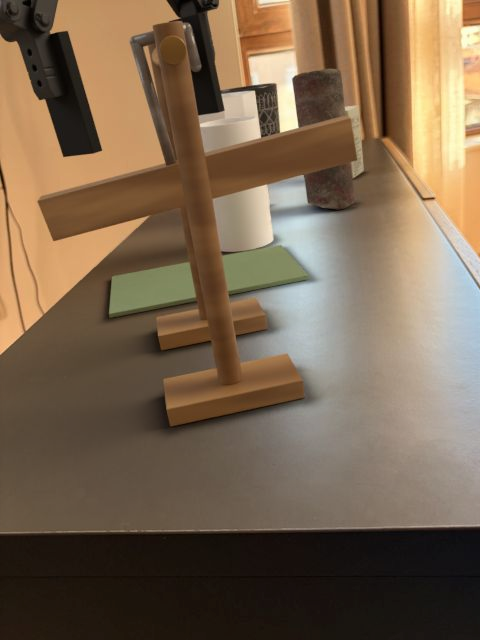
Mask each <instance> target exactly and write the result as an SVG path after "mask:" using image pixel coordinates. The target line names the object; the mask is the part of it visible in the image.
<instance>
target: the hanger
mask: <svg viewBox="0 0 480 640" xmlns="http://www.w3.org/2000/svg"><path fill="white" fill-rule="evenodd" d="M183 28H184V34H185V40H186V46H187V51H188V57H189V63H190V68H191V70H192V71H194V72H198V71H200V69H201V62H200V58H199V54H198V50H197V46H196V42H195V38H194V34H193V30H192V26H191V25H190V24H189V23H187V22H185V23H183ZM152 44H156V43H155V37H154V32H153V30H151V31H147V32H142V33H140V34H135V35H133V36H131V37H130V39H129V45H130V48H131V51H132V55H133V59H134V62H135V66H136V69H137V72H138V76H139V79H140V82H141V85H142V89H143V92H144V96H145V100H146V103H147V106H148V109H149V113H150V117H151V120H152V123H153V126H154V130H155V134H156V136H157V140H158V143H159V146H160V150H161V153H162V156H163V160H164V163H160V164H156V165H152V166H148V167H146V168H141V169H138V170H134V171H130V172H126V173H123V174H118V175H115V176H111V177H107V178H104V179H100V180H96V181H92V182H89V183H85V184H81V185H77V186H74V187H70V188H66V189H63V190H58V191H54V192H51V193H46V194H44V195H40V197H38V199H37V200H36V201H37V204H38V207H39V209H40V211H41V214H42V217H43V219H44V222H45V224H46V227H47V229H48V232H49V234H50V237H51V240H52V241H53V242H57V241H60V240H64V239H67V238H72V237H76V236H79V235H82V234H86V233H90V232H94V231H98V230H102V229H105V228H109V227H113V226H116V225H120V224H125V223H127V222H131V221H135V220H139V219H143V218H147V217H150V216H153V215H158V214H162V213H165V212H166V213H167V212H169V211H172V210H173V211H174V210H176V209H179V208H181V207H184V206H186V203H185V198H184V193H183V187H182V182H181V176H180V171H179V166H178V160H176V159H175V156H174V153H173V149H172V146H171V142H170V139H169V135H168V132H167V128H166V125H165V121H164V118H163V114H162V111H161V107H160V104H159V100H158V96H157V91H156V86H155V82H154V79H153V76H152V72H151V70H150V66H149V62H148V59H147V56H146V52H145V47H148V46H149V45H152ZM205 158H206V164H207V170H208V176H209V182H210V188H211V194H212V199H214V198H218V197H222V196H226V195H229V194H233V193H237V192H241V191H244V190H248V189H252V188H256V187H259V186H263V185H267V186H268V185H270V184H274V183H278V182H282V181H286V180H289V179H293V178H296V177H301V176H304V174H308V173H312V172H316V171H320V170H323V169H327V168H331V167H335V166H338V165H342V164H346V163H350V162H353V161H357V153H356V147H355V140H354V134H353V128H352V121H351V118H350V117H348V116H341V117H337V118H334V119H330V120H326V121H322V122H319V123H315V124H311V125H307V126H304V127H300V128H298V127H296V128H293V129H289V130H284V131H280V133H277V134H273V135H270V136H266V137H262V138H258V139H254V140H251V141H247V142H243V143H239V144H236V145H232V146H228V147H224V148H221V149H217V150H213V151H209V152H205Z"/></svg>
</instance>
